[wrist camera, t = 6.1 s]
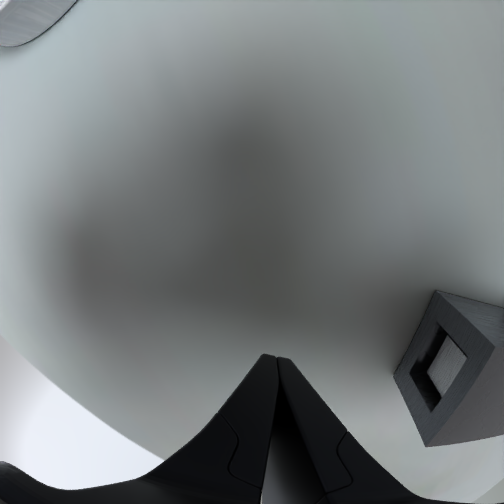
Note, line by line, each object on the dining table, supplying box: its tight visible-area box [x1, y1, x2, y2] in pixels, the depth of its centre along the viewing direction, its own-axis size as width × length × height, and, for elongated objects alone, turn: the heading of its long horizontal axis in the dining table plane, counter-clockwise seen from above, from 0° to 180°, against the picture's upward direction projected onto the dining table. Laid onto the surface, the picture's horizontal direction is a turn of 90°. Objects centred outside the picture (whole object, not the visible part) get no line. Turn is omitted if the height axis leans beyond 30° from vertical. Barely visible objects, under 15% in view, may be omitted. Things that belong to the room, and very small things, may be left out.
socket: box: [393, 290, 504, 447], centre depth 10 cm, size 6×5×5 cm
